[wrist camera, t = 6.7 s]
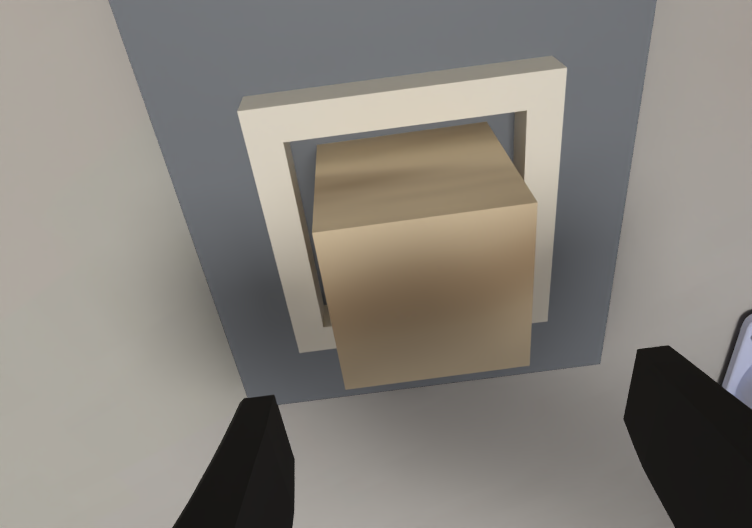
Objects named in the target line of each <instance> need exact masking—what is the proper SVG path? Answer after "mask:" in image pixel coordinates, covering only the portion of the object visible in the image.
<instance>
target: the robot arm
mask: <svg viewBox="0 0 752 528" xmlns="http://www.w3.org/2000/svg"><path fill="white" fill-rule="evenodd" d="M624 422H625V424H626V427H627V430H628V432H629V435H630V437H631V440H632V443H633V445H634V448H635V450H636V452H637V455H638V457H639V460H640V462H641V464H642V467H643V469H644V471H645V473H646V475H647V477H648V478H649V480H650V482H651V484H652V486H653V488H654V490H655V491H656V493H657V495H658V497H659V499H660V501H661V502H662V504H663V506H664V508H665V510H666V512H667V513H668V515H669V517H670V519H671V521H672V522H673V524H674V526H675V528H752V314H751V315H749V316H748V317H747V318H746V319H745V320H744V322H743V324H742V327H741V330H740V333H739V336H738V339H737V342H736V345H735V348H734V351H733V354H732V357H731V360H730V363H729V366H728V369H727V372H726V375H725V378H724V381H723V384H722V386H721V385H719V384H718V383H717V382H715V381H714V380H713V379H711V378H710V377H709V376H708V375H706V374H705V373H704V372H702V371H701V370H700V369H699V368H697V367H696V366H695V365H694V364H692V363H691V362H690V361H688V360H687V359H686V358H685V357H683V356H682V355H681V354H679V353H678V352H677V351H675V350H674V349H673V348H671V347H670V346H669V345H668V346H660V347H652V348H644V349H637V354H636V359H635V364H634V369H633V374H632V379H631V384H630V389H629V394H628V399H627V404H626V409H625V414H624ZM293 517H294V456H293V453H292V450H291V447H290V443H289V440H288V437H287V434H286V430H285V427H284V424H283V421H282V417H281V414H280V411H279V408H278V404H277V401H276V398H275V395H267V396H259V397H251V398H244V399H243V400H242V401H241V402H240V404H239V406H238V408H237V410H236V413H235V415H234V417H233V419H232V421H231V423H230V425H229V427H228V429H227V431H226V433H225V435H224V437H223V439H222V441H221V443H220V445H219V447H218V449H217V451H216V453H215V455H214V457H213V458H212V460H211V462H210V464H209V466H208V468H207V469H206V471H205V473H204V475H203V477H202V478H201V480H200V482H199V484H198V486H197V487H196V489H195V491H194V493H193V494H192V496H191V498H190V500H189V501H188V503H187V505H186V507H185V508H184V510H183V511H182V513H181V515H180V516H179V518H178V519H177V521H176V523H175V524H174V526H173V527H172V528H292V526H293Z"/></svg>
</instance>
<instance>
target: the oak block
mask: <svg viewBox="0 0 752 528" xmlns="http://www.w3.org/2000/svg"><path fill="white" fill-rule="evenodd" d="M537 206H538V202H537V201H536V199H535V197H534V196H533V194H532V193H531V191H530V190H529V188H528V186H527V185H526V183H525V182H524V180H523V178H522V177H521V175H520V174H519V172H518V171H517V169H516V167H515V166H514V164H513V163H512V161H511V160H510V158H509V156H508V155H507V153H506V152H505V150H504V148H503V147H502V145H501V144H500V142H499V141H498V139H497V137H496V136H495V134H494V133H493V131H492V130H491V128H490V126H489V125H488V123H487V122H480V123H472V124H465V125H458V126H451V127H443V128H436V129H429V130H421V131H414V132H407V133H400V134H392V135H385V136H378V137H371V138H363V139H356V140H349V141H341V142H334V143H327V144H320V145H317V152H316V170H315V188H314V206H313V224H312V235H313V240H314V245H315V249H316V254H317V259H318V264H319V268H320V273H321V278H322V282H323V287H324V292H325V296H326V301H327V306H328V310H329V315H330V320H331V324H332V329H333V334H334V338H335V343H336V348H337V352H338V357H339V362H340V366H341V371H342V376H343V380H344V385H345V390H348V389H356V388H363V387H371V386H378V385H386V384H394V383H401V382H409V381H416V380H424V379H432V378H439V377H447V376H455V375H462V374H470V373H477V372H485V371H493V370H500V369H508V368H515V367H523V366H530V348H531V327H532V307H533V287H534V267H535V247H536V226H537Z"/></svg>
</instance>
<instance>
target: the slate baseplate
mask: <svg viewBox="0 0 752 528" xmlns="http://www.w3.org/2000/svg"><path fill="white" fill-rule="evenodd" d="M656 1H657V0H109V3H110V6H111V9H112V12H113V14H114V17H115V20H116V23H117V26H118V29H119V32H120V34H121V37H122V40H123V43H124V46H125V49H126V52H127V54H128V57H129V60H130V63H131V66H132V69H133V72H134V74H135V77H136V80H137V83H138V86H139V89H140V92H141V94H142V97H143V100H144V103H145V106H146V109H147V112H148V114H149V117H150V120H151V123H152V126H153V129H154V132H155V134H156V137H157V140H158V143H159V146H160V149H161V152H162V154H163V157H164V160H165V163H166V166H167V169H168V172H169V174H170V177H171V180H172V183H173V186H174V189H175V192H176V194H177V197H178V200H179V203H180V206H181V209H182V212H183V214H184V217H185V220H186V223H187V226H188V229H189V232H190V234H191V237H192V240H193V243H194V246H195V249H196V252H197V254H198V257H199V260H200V263H201V266H202V269H203V272H204V274H205V277H206V280H207V283H208V286H209V289H210V292H211V294H212V297H213V300H214V303H215V306H216V309H217V312H218V314H219V317H220V320H221V323H222V326H223V329H224V332H225V334H226V337H227V340H228V343H229V346H230V349H231V351H232V354H233V357H234V360H235V363H236V366H237V369H238V371H239V374H240V377H241V380H242V383H243V386H244V389H245V391H246V394H247V397H248V398H251V397H259V396H267V395H275V398H276V401H277V404H278V405H281V404H289V403H297V402H305V401H313V400H321V399H329V398H336V397H344V396H352V395H360V394H368V393H376V392H384V391H392V390H399V389H407V388H415V387H423V386H431V385H439V384H447V383H455V382H462V381H470V380H478V379H486V378H494V377H502V376H510V375H518V374H525V373H533V372H541V371H549V370H557V369H565V368H573V367H580V366H588V365H596V364H600V362H601V355H602V349H603V342H604V336H605V329H606V323H607V317H608V310H609V304H610V297H611V291H612V284H613V278H614V272H615V265H616V259H617V252H618V246H619V239H620V233H621V227H622V220H623V214H624V207H625V201H626V194H627V188H628V181H629V175H630V169H631V162H632V156H633V149H634V143H635V136H636V130H637V124H638V117H639V111H640V104H641V98H642V91H643V85H644V79H645V72H646V66H647V59H648V53H649V46H650V40H651V34H652V27H653V21H654V14H655V8H656ZM480 122H487V123H488V125H489V126H490V128H491V130H492V131H493V133H494V134H495V136H496V137H497V139H498V141H499V142H500V144H501V145H502V147H503V148H504V150H505V152H506V153H507V155H508V156H509V158H510V160H511V161H512V163H513V164H514V166H515V167H516V169H517V171H518V172H519V174H520V175H521V177H522V178H523V180H524V182H525V183H526V185H527V186H528V188H529V190H530V191H531V193H532V194H533V196H534V197H535V199H536V201H537V202H538V206H537V226H536V247H535V267H534V287H533V307H532V327H531V348H530V366H523V367H515V368H508V369H500V370H493V371H485V372H477V373H470V374H462V375H455V376H447V377H439V378H432V379H424V380H416V381H409V382H401V383H394V384H386V385H378V386H371V387H363V388H356V389H348V390H345V385H344V380H343V376H342V371H341V366H340V362H339V357H338V352H337V348H336V343H335V338H334V334H333V329H332V324H331V320H330V315H329V310H328V306H327V301H326V296H325V292H324V287H323V282H322V278H321V273H320V268H319V264H318V259H317V254H316V249H315V245H314V240H313V235H312V224H313V206H314V188H315V170H316V152H317V145H320V144H327V143H334V142H341V141H349V140H356V139H363V138H371V137H378V136H385V135H392V134H400V133H407V132H414V131H421V130H429V129H436V128H443V127H451V126H458V125H465V124H472V123H480Z"/></svg>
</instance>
